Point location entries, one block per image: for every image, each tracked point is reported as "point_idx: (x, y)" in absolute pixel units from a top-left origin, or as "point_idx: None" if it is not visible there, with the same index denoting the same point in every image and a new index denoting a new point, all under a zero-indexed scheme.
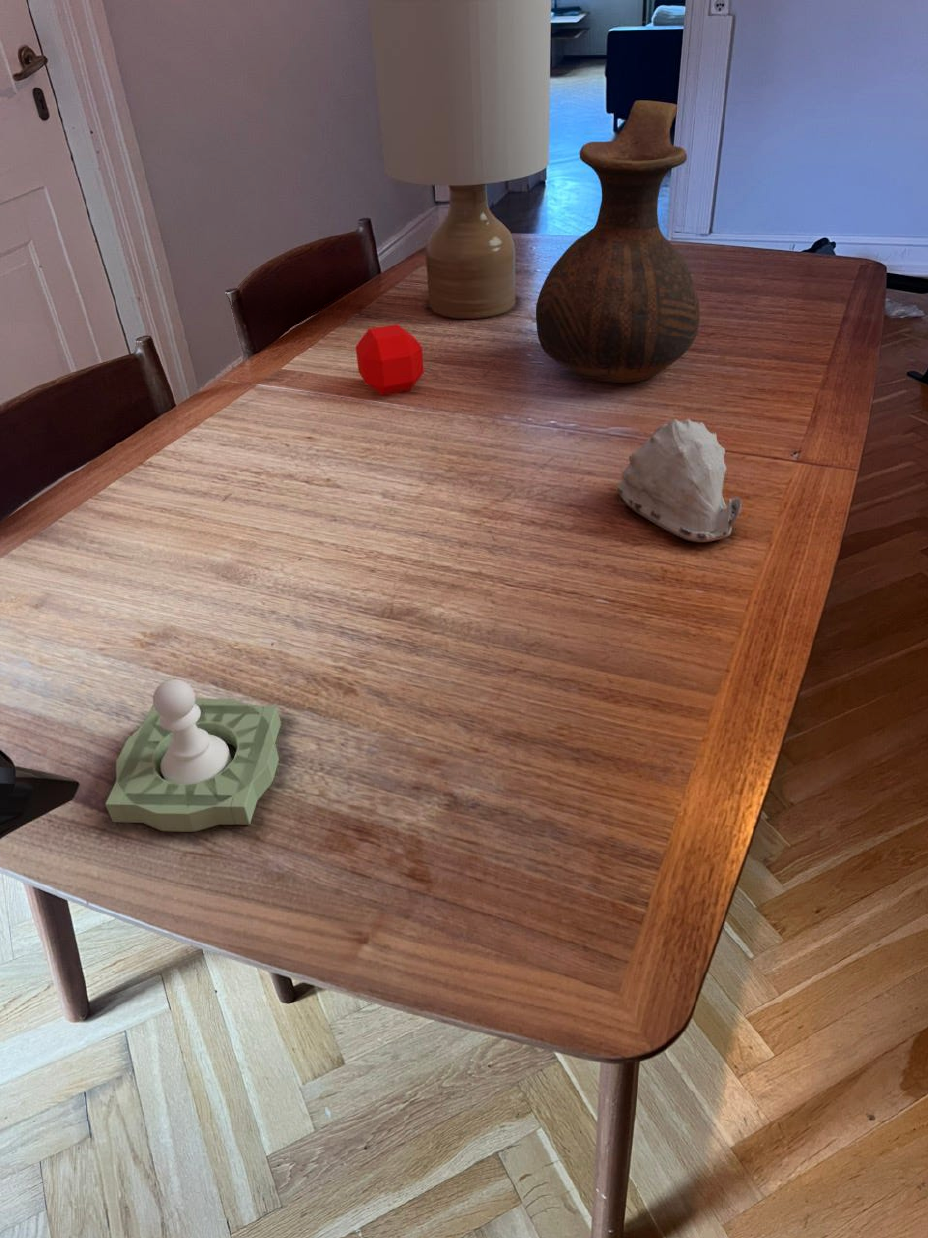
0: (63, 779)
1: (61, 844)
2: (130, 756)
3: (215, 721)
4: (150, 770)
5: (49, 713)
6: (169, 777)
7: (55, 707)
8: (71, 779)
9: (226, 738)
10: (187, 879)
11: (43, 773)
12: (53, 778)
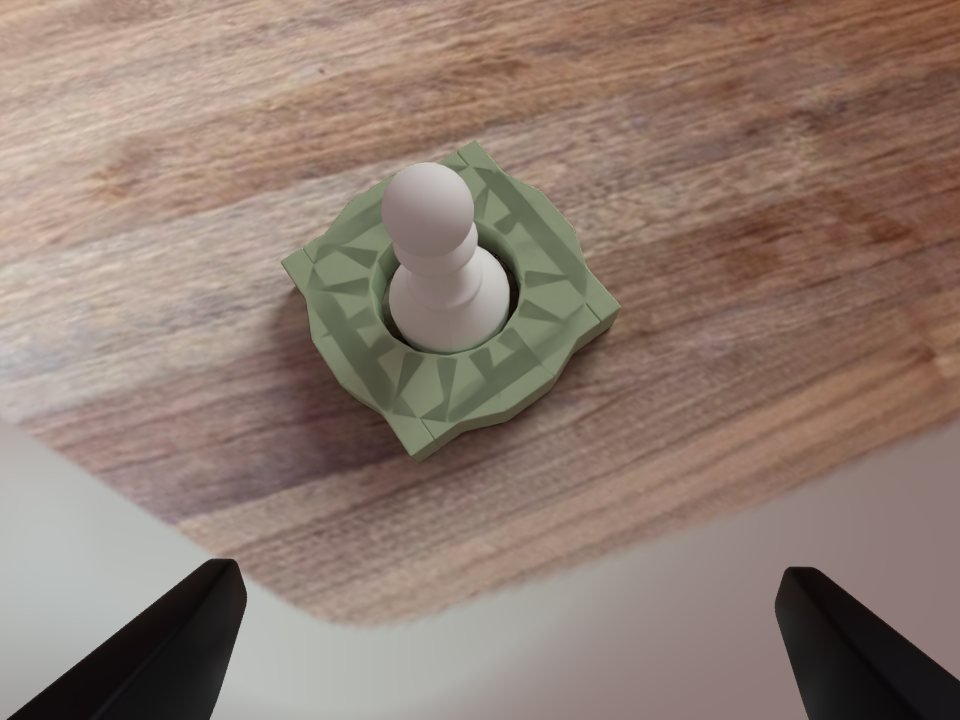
0: (888, 630)
1: (382, 551)
2: (353, 359)
3: None
4: (412, 357)
5: (98, 388)
6: (451, 345)
7: (96, 373)
8: (823, 587)
9: None
10: (624, 454)
11: (951, 717)
12: (952, 684)
